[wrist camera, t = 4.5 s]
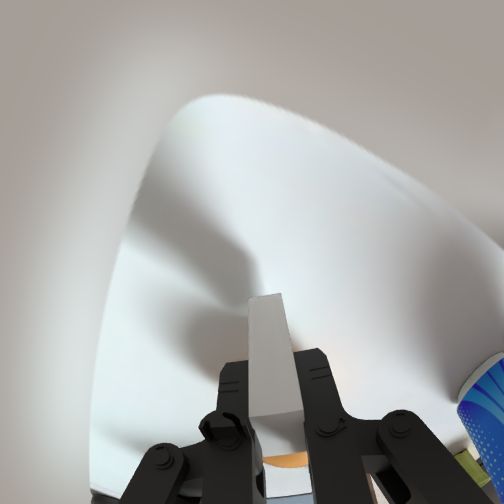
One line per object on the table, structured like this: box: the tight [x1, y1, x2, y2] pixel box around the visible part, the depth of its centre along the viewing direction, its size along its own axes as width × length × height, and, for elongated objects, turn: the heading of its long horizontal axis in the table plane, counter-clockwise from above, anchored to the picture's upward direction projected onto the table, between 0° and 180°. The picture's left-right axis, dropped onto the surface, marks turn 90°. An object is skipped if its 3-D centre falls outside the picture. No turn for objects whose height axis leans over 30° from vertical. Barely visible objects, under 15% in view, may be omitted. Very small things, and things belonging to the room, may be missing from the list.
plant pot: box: [454, 450, 491, 487], centre depth 24 cm, size 9×9×9 cm
